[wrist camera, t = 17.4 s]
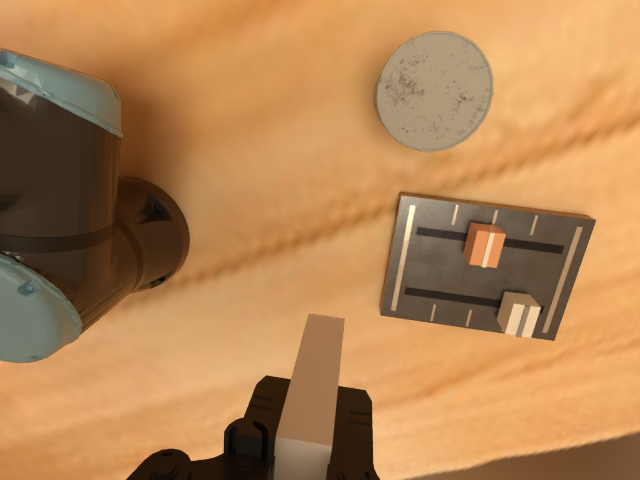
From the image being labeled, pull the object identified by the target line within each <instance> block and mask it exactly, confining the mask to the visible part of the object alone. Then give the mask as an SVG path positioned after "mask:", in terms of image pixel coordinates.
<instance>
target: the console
mask: <svg viewBox="0 0 640 480" xmlns="http://www.w3.org/2000/svg"><path fill="white" fill-rule="evenodd" d="M470 222H472V223H480V224H488V225H496V226H498V227H499V228H500V229H501V230H502V231H503V232H504V233H505V234H506V236H505V239H504V243H503V247H502V250H501V254H500V258H499V261H498V265H497V268H493V267H481V266H478V265H471V264H469V263H468V262H467V260H466V258H465V257H464V255H463V251H464V247H465V243H466V239H467V235H468V230H469V226H470ZM595 222H596V220H595V219H593V218H591V217H589V216H587V215H580V214H572V213H564V212H556V211H548V210H540V209H532V208H524V207H516V206H508V205H500V204H492V203H484V202H476V201H468V200H460V199H452V198H444V197H436V196H428V195H421V194H413V193H405V192H400V195H399V201H398V207H397V212H396V218H395V224H394V230H393V235H392V241H391V247H390V253H389V258H388V264H387V270H386V275H385V281H384V287H383V293H382V298H381V304H380V315H381V316H388V317H395V318H402V319H409V320H415V321H422V322H429V323H436V324H443V325H450V326H456V327H463V328H470V329H477V330H484V331H491V332H497V333H504V331H503V330H502V328H501V327H500V325H499V323H498V322H497V317H498V313H499V310H500V306H501V303H502V299H503V296H504V292H505V291H506V292H513V293H521V294H528V295H531V297H532V298H533V299H534V300H535V301H536V302H537V304H538V305H539V306H540V307H541V309H540V312H539V315H538V318H537V321H536V324H535V327H534V330H533V333H532V336H531V337H532V338H538V339H545V340H552V341H554V340H555V337H556V334H557V331H558V328H559V325H560V323H561V320H562V317H563V314H564V311H565V308H566V305H567V302H568V300H569V297H570V294H571V291H572V288H573V285H574V282H575V279H576V277H577V274H578V271H579V268H580V265H581V262H582V259H583V256H584V254H585V251H586V248H587V245H588V242H589V239H590V236H591V233H592V231H593V228H594V225H595ZM504 334H505V333H504Z"/></svg>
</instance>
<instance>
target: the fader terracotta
mask: <svg viewBox="0 0 640 480" xmlns="http://www.w3.org/2000/svg"><path fill="white" fill-rule="evenodd" d="M505 236H506V234H505V233H504V232H503V231H502V230H501V229H500V228H499V227H498V226H496V225H488V224H480V223H472V222H470V226H469V230H468V235H467V239H466V243H465V247H464V251H463V255H464V257H465V258H466V260H467V262H468V263H469V264H471V265H478V266H481V267H493V268H497V265H498V261H499V258H500V254H501V250H502V247H503V243H504V239H505Z"/></svg>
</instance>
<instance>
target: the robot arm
mask: <svg viewBox="0 0 640 480" xmlns="http://www.w3.org/2000/svg"><path fill="white" fill-rule="evenodd" d="M121 139H123V133H122V132H121V99H120V96H119V94H118V92H117V91H116V89H115V88H114V87H113V86H112V85H111V84H110V83H108V82H106V81H105V80H102V79H100V78H97V77H94V76H91V75H88V74H85V73H81V72H78V71H75V70H72V69H69V68H66V67H62V66H59V65H56V64H53V63H50V62H46V61H43V60H40V59H36V58H33V57H30V56H27V55H24V54H20V53H17V52H14V51H11V50H7V49H4V48H1V47H0V360H1V361H6V362H12V363H30V362H35V361H39V360H42V359H44V358H47V357H49V356H51V355H52V354H54V353H55V352H57V351H58V350H59V349H61V348H62V347H64V346H65V345H67V344H69V343H72V342H74V341H75V340H76V339H78V337H79V336H80V335H81V334H82V333H83V332H84V331H85V330H87V329H88V328H89V327H90V326H91V325H93V324H94V323H95V322H96V321H97V320H99V319H100V318H101V317H102V316H103V315H104V314H106V313H107V312H108V311H109V310H110V309H112V308H113V307H114V306H115V305H116V304H118V303H119V302H120V301H121V300H122V299H124V298H125V297H126V296H127V295H128V294H131V293H135V292H139V291H143V290H147V289H151V288H154V287H157V286H159V285H161V284H162V283H164V282H166V281H167V280H168V279H169V278H170V277H172V276H173V275H174V274H175V273H176V272H177V271H178V270H179V269H180V268H181V266H182V265H183V263H184V261H185V259H186V256H187V253H188V249H189V232H188V227H187V224H186V221H185V218H184V216H183V214H182V212H181V211H180V209H179V207H178V206H177V204H176V203H175V202H174V201H173V200H172V198H171V197H170V196H169V195H167V194H166V193H165V192H164V191H163V190H161V189H160V188H158V187H157V186H155V185H153V184H151V183H149V182H147V181H144V180H141V179H137V178H131V177H120V178H118V177H119V159H120V141H121ZM344 320H345V319H343V318H337V317H330V316H323V315H316V314H309V315H308V318H307V322H306V326H305V330H304V333H303V337H302V341H301V344H300V348H299V352H298V356H297V359H296V363H295V367H294V370H293V374H292V378H291V379H285V378H279V377H273V376H265V377H264V378H263V379H262V380H261V381H259V382H258V383H257V384H256V387H255V389H254V392H253V395H252V397H251V400H250V402H249V406H248V408H247V410H246V413H245V415H244V418H240V419H237V420H235V421H234V422H232V423H231V424H229V425H228V427H227V428H226V430H225V431H224V453H223V454H221V455H219V456H217V457H214V458H210V459H205V460H197V461H191V460H190V458H189V456H188V455H187V454H186V453H184V452H183V451H181V450H177V449H165V450H161V451H158V452H156V453H153V454H152V455H150V456H149V457H148V458H147V459H145V460H144V461H143V462H142V463H141V464H140V465H139V466H138V467H137V469H136V470H135V471H134V472H133V473H132V474H131V475H130V476H129V477H128V478H127V479H126V480H380V478H379V477H378V476H377V474H376V472H375V469H374V464H373V430H372V401H371V399H370V397H369V395H368V394H367V392H366V390H360V389H354V388H348V387H342V386H338V381H339V371H340V361H341V351H342V340H343V330H344Z"/></svg>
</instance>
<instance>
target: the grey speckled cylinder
mask: <svg viewBox="0 0 640 480" xmlns="http://www.w3.org/2000/svg"><path fill="white" fill-rule="evenodd" d="M492 96H493V76H492V72H491V67H490V64H489V62H488V60H487V59H486V57H485V55H484V53H483V52H482V51H481V50H480V49H479V47H478V46H477V45H476V44H475V43H473V42H472V41H470V40H469V39H468V38H466V37H465V36H462V35H459V34H456V33H453V32H446V31H434V32H428V33H423V34H421V35H419V36H416V37H414V38H411V39H410V40H409V41H407V42H406V43H404V44H403V45H401V46H400V47H399V48H398V49H397V50H396V51H395V52H394V53H393V55H392V56H391V57H390V58H389V60H388V61H387V63H386V65H385V66H384V68H383V70H382V73H381V74H380V76H379V78H378V81H377V84H376V86H375V93H374V104H375V110H376V113H377V116H378V118H379V120H380V121H381V123H382V125H383V126H384V127H385V128H386V129H387V131H388V132H389V133H390V134H391V135H392V136H393V137H394V138H395V140H397V141H398V142H400V143H401V144H403V145H404V146H406V147H408V148H411V149H414V150H417V151H425V152H435V151H443V150H446V149H449V148H452V147H455V146H456V145H458V144H460V143H461V142H463V141H465V140H466V139H468V138H469V137H470V136H471V135H472V134H473V133H474V132H475V131H476V130H477V129H478V127H479V126H480V125H481V123H482V122H483V121H484V119H485V117H486V115H487V113H488V110H489V108H490V105H491V101H492Z"/></svg>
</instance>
